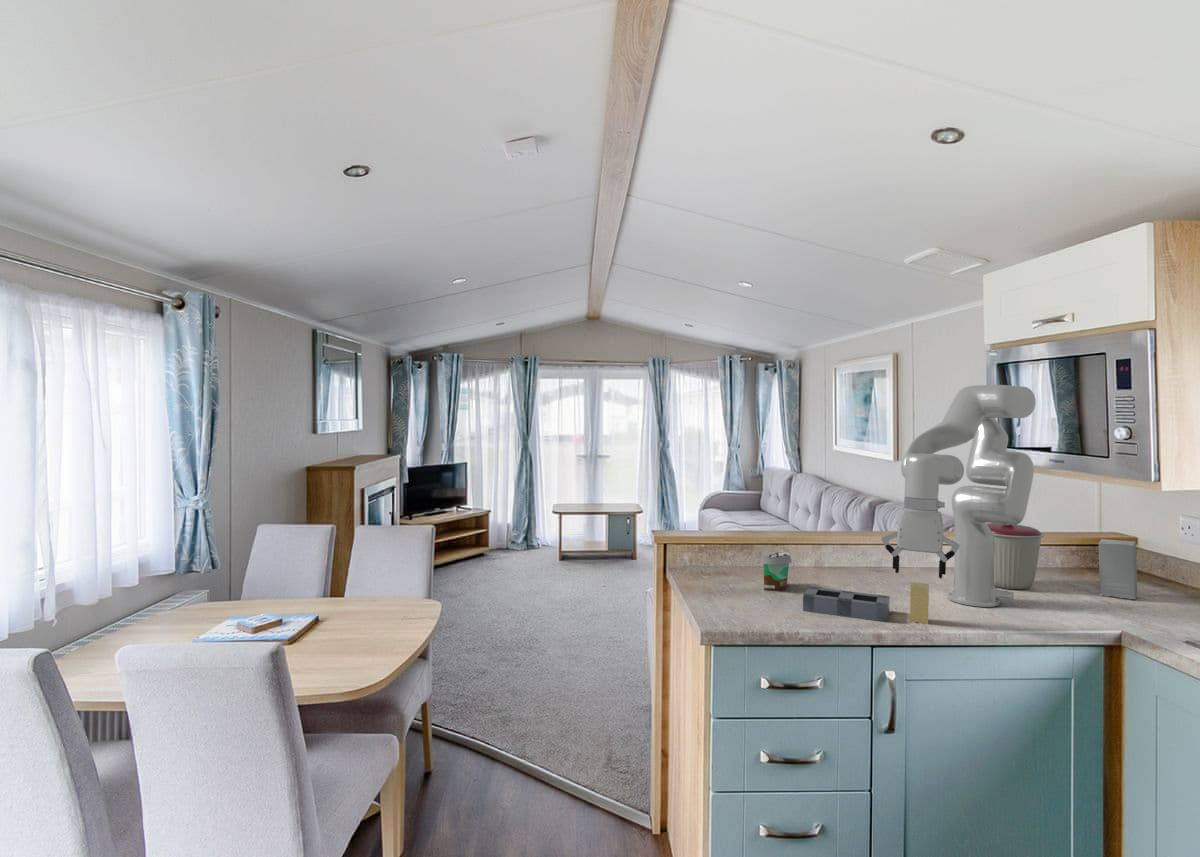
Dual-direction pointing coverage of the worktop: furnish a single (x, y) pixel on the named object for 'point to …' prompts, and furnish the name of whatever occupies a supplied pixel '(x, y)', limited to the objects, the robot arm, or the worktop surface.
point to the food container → (776, 571)
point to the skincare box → (1118, 568)
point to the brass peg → (919, 602)
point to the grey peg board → (847, 603)
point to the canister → (1015, 555)
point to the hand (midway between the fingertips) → (918, 574)
